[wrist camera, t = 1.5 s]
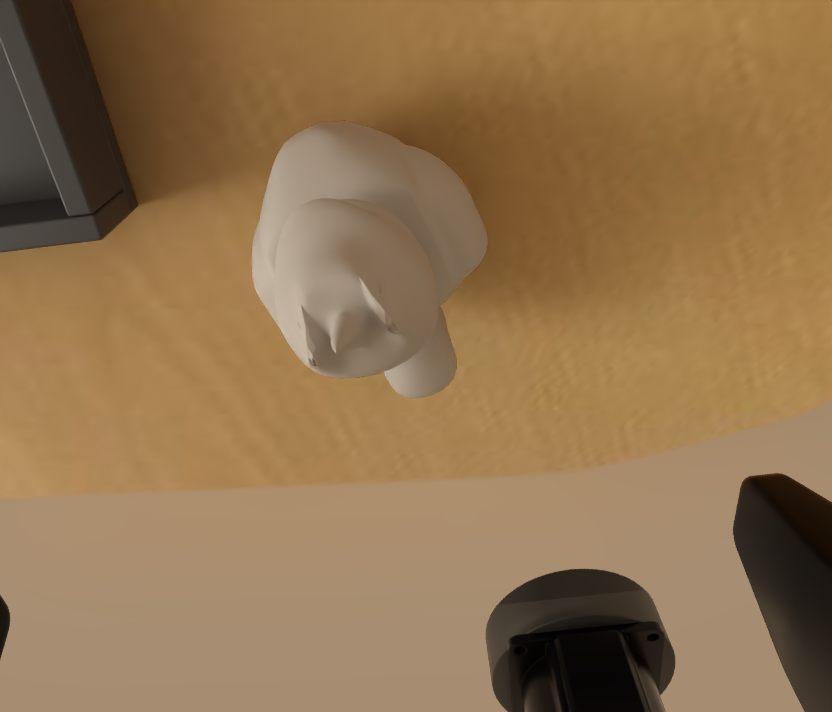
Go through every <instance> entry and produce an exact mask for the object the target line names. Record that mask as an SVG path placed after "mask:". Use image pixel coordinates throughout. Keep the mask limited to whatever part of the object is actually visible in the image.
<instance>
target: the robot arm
mask: <svg viewBox="0 0 832 712" xmlns="http://www.w3.org/2000/svg"><path fill="white" fill-rule="evenodd" d="M733 535H734V541H735V545H736V548H737V551H738V553H739V556H740V558H741V561H742V564H743V566H744V569H745V571H746V574H747V576H748V579H749V581H750V584H751V587H752V589H753V592H754V595H755V597H756V600H757V602H758V605H759V607H760V610H761V612H762V615H763V618H764V620H765V623H766V625H767V628H768V630H769V633H770V636H771V638H772V641H773V643H774V646H775V649H776V651H777V654H778V656H779V659H780V661H781V663H782V666H783V668H784V671H785V673H786V675H787V677H788V679H789V681H790V683H791V685H792V687H793V689H794V691H795V694H796V696H797V698H798V699H799V701H800V703H801V705H802V707H803V709H804V711H805V712H832V502H830V501H828V500H827V499H825V498H824V497H822V496H820V495H819V494H817V493H815V492H814V491H812V490H810V489H809V488H807V487H805V486H804V485H802V484H800V483H798V482H797V481H795V480H794V479H792V478H790V477H788V476H786V475H784V474H779V473H774V474H765V475H756V476H750V477H747V478H746V479H745V480H744V481H743V482H742V485H741V488H740V494H739V499H738V504H737V510H736V515H735V520H734V526H733ZM9 626H10V613H9V609H8V606H7V605H6V603H5V601H4V600H3V598H2V597H1V596H0V658H1V655H2V651H3V648H4V645H5V641H6V637H7V634H8V630H9ZM664 639H665V635H664V631H663V629H662V627H661V625H660V624H659V623H658V622H655V621H647V622H638V623H628V624H618V625H608V626H599V627H589V628H579V629H569V630H559V631H550V632H540V633H530V634H520V635H515V636H513V637H511V638H510V639H509V640H508V642H507V649H508V662H509V675H510V688H511V701H512V712H666V711H665V708H664V705H663V703H662V700H661V697H660V694H659V688H660V678H661V668H662V658H663V649H664Z"/></svg>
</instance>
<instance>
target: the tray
mask: <svg viewBox="0 0 832 712" xmlns="http://www.w3.org/2000/svg"><path fill="white" fill-rule="evenodd" d="M136 207H138V204H137V201H136V198H135V195H134V192H133V189H132V186H131V183H130V180H129V177H128V174H127V171H126V168H125V165H124V162H123V159H122V156H121V153H120V150H119V147H118V143H117V140H116V137H115V134H114V131H113V128H112V125H111V122H110V119H109V116H108V113H107V110H106V107H105V104H104V101H103V98H102V95H101V92H100V89H99V86H98V83H97V80H96V77H95V74H94V71H93V68H92V65H91V62H90V59H89V56H88V53H87V50H86V47H85V44H84V41H83V38H82V35H81V32H80V29H79V26H78V23H77V20H76V17H75V14H74V11H73V8H72V5H71V2H70V0H0V252H7V251H15V250H23V249H32V248H40V247H48V246H56V245H64V244H72V243H80V242H88V241H96V240H102V239H103V238H105V237H106V236H107V235H108V234H109V233H110V232H111V231H112V230H113V229H114V228H115V227H116V226H117V225H118V224H119V223H120V222H122V221H123V220H124V219H125V218H126V217H127V216H128V215H129V214H130V213H131V212H132V211H133V210H134V209H135V208H136Z"/></svg>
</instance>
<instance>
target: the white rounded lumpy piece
mask: <svg viewBox="0 0 832 712" xmlns="http://www.w3.org/2000/svg"><path fill="white" fill-rule="evenodd" d="M487 248H488V236H487V232H486V229H485V226H484V224H483V222H482V219H481V217H480V215H479V213H478V210H477V208H476V206H475V204H474V201H473V199H472V197H471V195H470V193H469V191H468V189H467V187H466V186H465V184H464V183H463V182H462V180H461V179H460V178H459V176H458V175H457V174H456V173H455V172H454V171H453V170H452V169H451V168H450V167H449V166H448V165H447V164H445V163H444V162H443V161H442V160H440V159H439V158H437V157H436V156H434V155H433V154H431V153H429V152H427V151H425V150H423V149H421V148H417V147H414V146H409V145H405V144H403V143H402V142H401V141H399V140H398V139H396V138H395V137H393V136H391V135H388V134H386V133H384V132H381V131H378V130H375V129H372V128H369V127H366V126H363V125H359V124H356V123H353V122H349V121H331V122H322V123H318V124H315V125H313V126H311V127H308V128H306V129H305V130H303V131H301V132H299V133H297V134H295V135H294V136H292V137H291V138H289V139H288V140H287V141H286V142H285V144H284V145H283V146H282V148H281V150H280V152H279V153H278V155H277V157H276V159H275V162H274V164H273V167H272V171H271V174H270V178H269V181H268V185H267V189H266V193H265V196H264V200H263V204H262V209H261V216H260V221H259V223H258V225H257V228H256V231H255V236H254V240H253V247H252V275H253V283H254V286H255V290H256V292H257V294H258V296H259V298H260V299H261V301H262V302H263V304H264V305H265V307H266V308H267V310H268V311H269V313H270V314H271V316H272V317H273V319H274V320H275V322H276V323H277V325H278V326H279V328H280V329H281V331H282V333H283V335H284V337H285V339H286V341H287V343H288V344H289V346H290V347H291V349H292V350H293V351H294V353H295V354H296V355H297V356H298V357H299V359H300V360H301V361H302V362H303V363H304V364H305V365H306V366H308V367H309V368H310V369H311V370H313V371H314V372H317V373H319V374H321V375H324V376H328V377H335V378H359V377H364V376H370V375H375V374H378V373H381V372H383V373H384V375H385V376H386V378H387V380H388V382H389V383H390V385H391V387H392V388H393V389H394V390H395V391H396V392H397V393H398V394H400V395H402V396H405V397H408V398H421V397H427V396H430V395H433V394H435V393H437V392H439V391H441V390H443V389H444V388H445V387H446V386H448V385H449V383H450V382H451V381H452V379H453V377H454V375H455V372H456V368H457V359H456V355H455V351H454V348H453V345H452V342H451V339H450V336H449V333H448V329H447V324H446V319H445V316H444V313H443V310H442V308H441V306H440V305H441V304H442V303H443V302H445V301H446V300H447V299H448V298H449V297H450V296H451V295H452V294H453V293H454V292H455V291H456V290H457V288H458V287H459V286H460V284H461V282H462V281H463V279H464V278H465V277H466V276H467V275H469V274H470V273H471V272H472V271H473V270H474V269H475V268H476V267H477V266H478V265H479V264H480V263H481V261H482V260H483V258H484V256H485V254H486V251H487Z"/></svg>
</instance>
